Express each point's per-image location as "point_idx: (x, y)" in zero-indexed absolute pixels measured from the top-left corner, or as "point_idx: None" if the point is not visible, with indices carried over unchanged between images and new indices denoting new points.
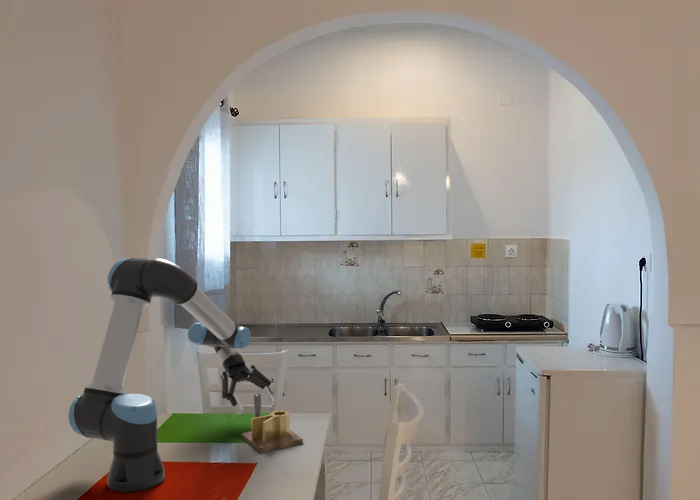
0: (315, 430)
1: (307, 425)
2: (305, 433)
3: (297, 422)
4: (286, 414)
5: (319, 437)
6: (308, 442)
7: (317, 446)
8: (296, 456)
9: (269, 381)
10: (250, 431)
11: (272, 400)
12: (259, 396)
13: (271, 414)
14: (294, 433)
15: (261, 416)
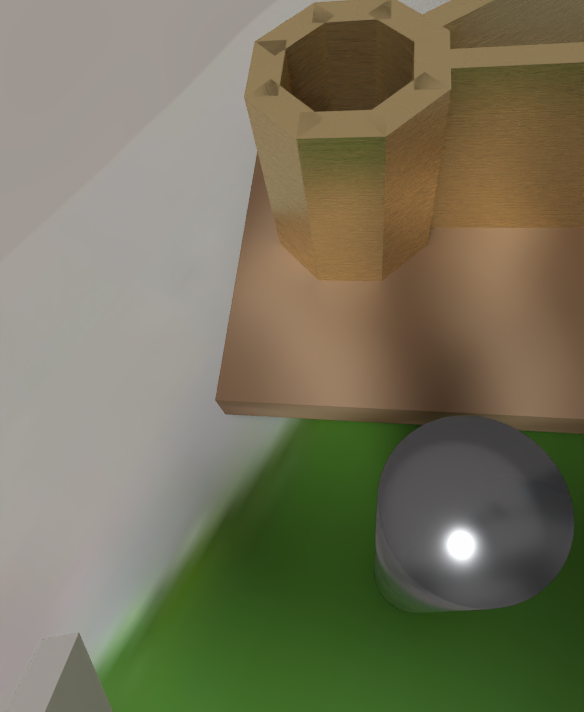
0: (52, 266)
1: (10, 390)
2: (142, 253)
3: (7, 513)
4: (305, 14)
5: (126, 155)
6: (231, 121)
7: (229, 59)
8: (404, 2)
9: None
10: (568, 412)
11: (68, 663)
12: (448, 421)
13: (444, 68)
14: (254, 183)
15: (581, 60)
